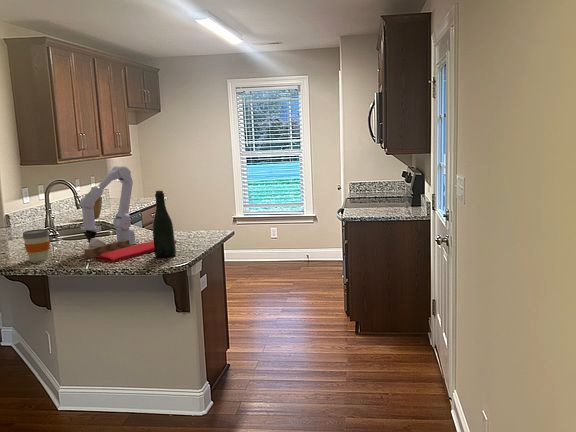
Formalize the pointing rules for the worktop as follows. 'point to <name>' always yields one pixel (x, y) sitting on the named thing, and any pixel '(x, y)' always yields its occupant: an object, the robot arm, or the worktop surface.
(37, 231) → the reusable coffee cup
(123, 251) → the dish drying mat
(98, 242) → the die
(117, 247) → the brown wooden bar
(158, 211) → the dark green wine bottle
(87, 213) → the robot arm
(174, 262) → the worktop surface
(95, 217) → the plant pot
